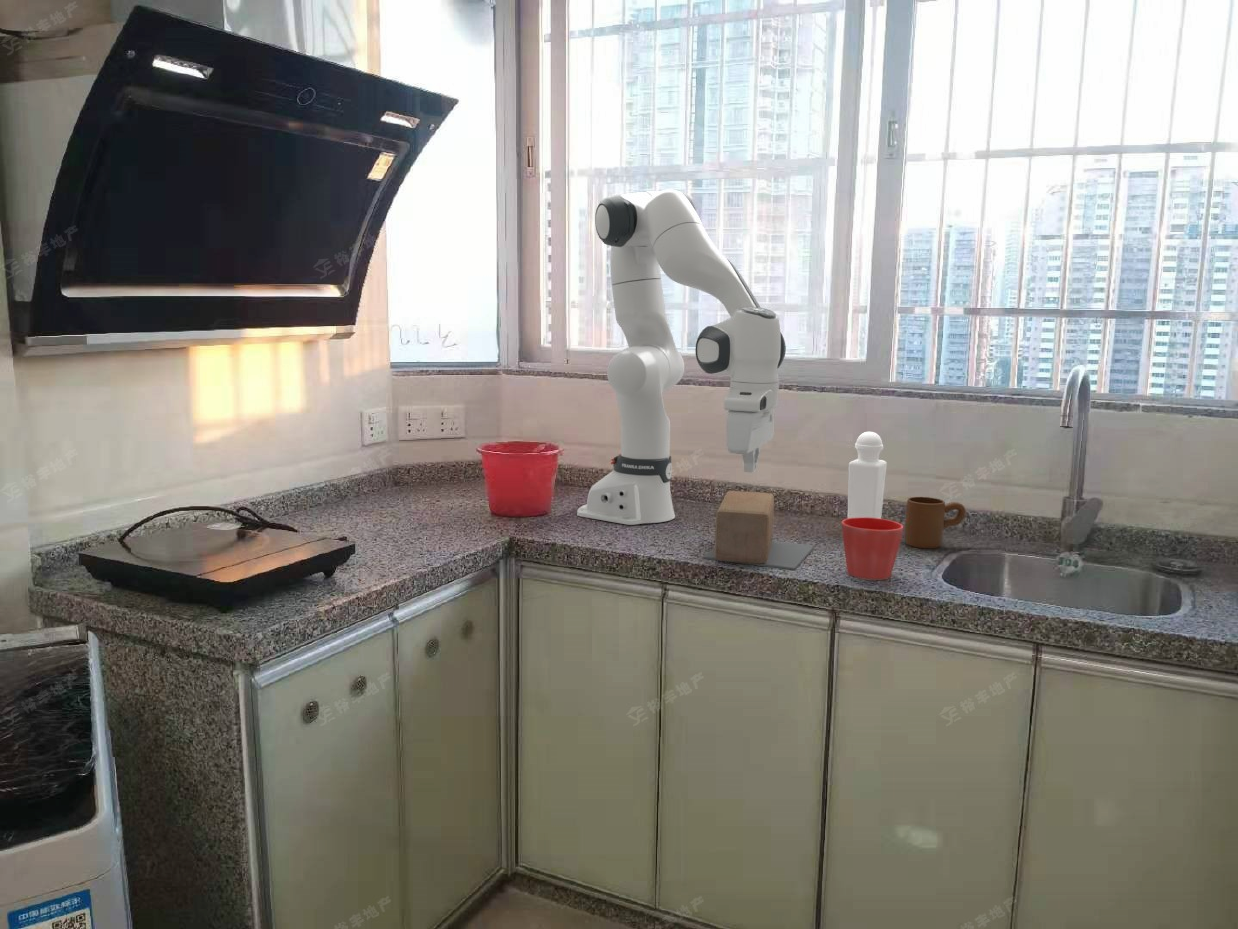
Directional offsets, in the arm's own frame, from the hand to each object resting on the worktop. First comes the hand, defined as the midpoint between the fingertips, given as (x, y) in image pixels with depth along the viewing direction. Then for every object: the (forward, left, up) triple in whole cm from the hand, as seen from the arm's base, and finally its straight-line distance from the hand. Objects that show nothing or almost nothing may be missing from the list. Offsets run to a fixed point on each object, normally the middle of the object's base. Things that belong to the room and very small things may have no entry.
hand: (750, 471), depth 176 cm
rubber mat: (0, +10, -18) cm, 20 cm away
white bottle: (+16, +37, -18) cm, 44 cm away
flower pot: (+22, +4, -18) cm, 29 cm away
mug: (+31, +32, -18) cm, 48 cm away
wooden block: (-1, -1, -13) cm, 13 cm away
